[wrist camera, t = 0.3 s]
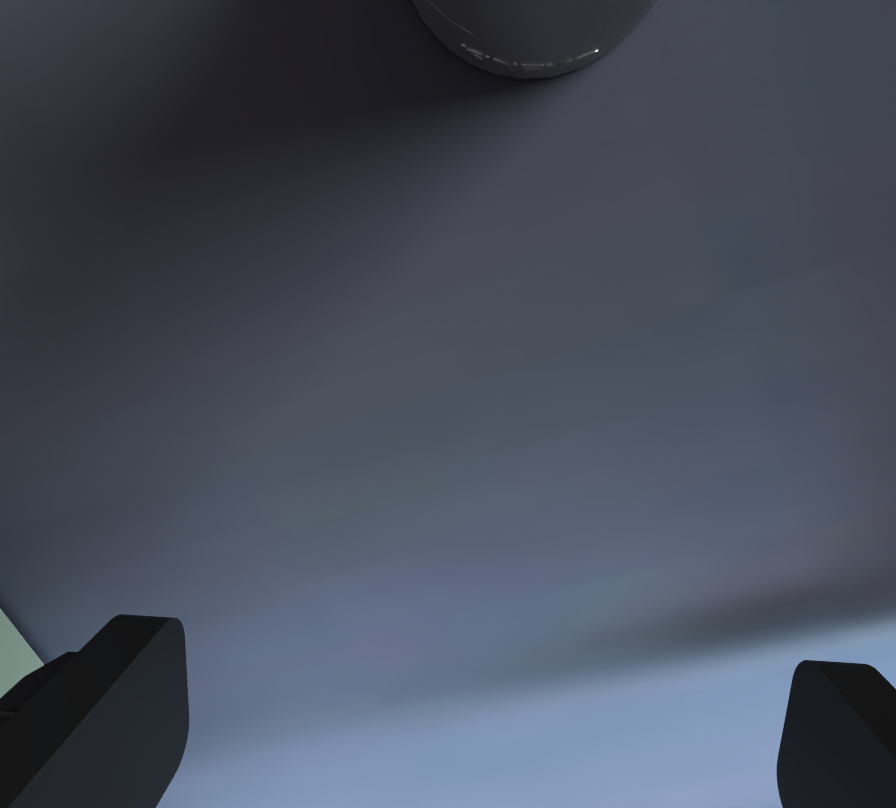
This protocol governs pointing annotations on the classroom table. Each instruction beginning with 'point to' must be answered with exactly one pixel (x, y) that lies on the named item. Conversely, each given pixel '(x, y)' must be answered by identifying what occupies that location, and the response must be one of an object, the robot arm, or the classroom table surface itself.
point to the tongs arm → (14, 656)
